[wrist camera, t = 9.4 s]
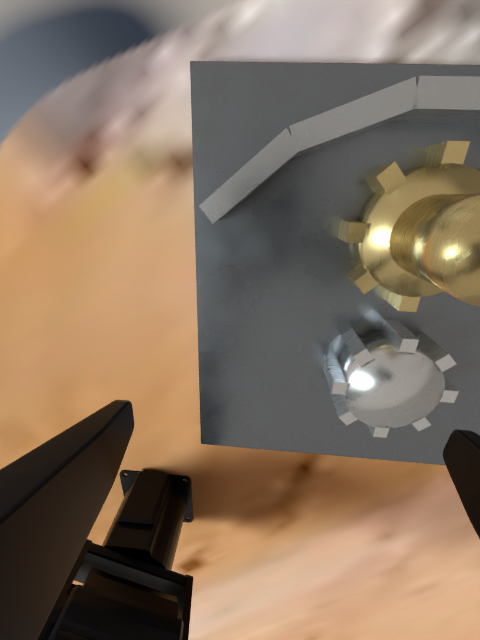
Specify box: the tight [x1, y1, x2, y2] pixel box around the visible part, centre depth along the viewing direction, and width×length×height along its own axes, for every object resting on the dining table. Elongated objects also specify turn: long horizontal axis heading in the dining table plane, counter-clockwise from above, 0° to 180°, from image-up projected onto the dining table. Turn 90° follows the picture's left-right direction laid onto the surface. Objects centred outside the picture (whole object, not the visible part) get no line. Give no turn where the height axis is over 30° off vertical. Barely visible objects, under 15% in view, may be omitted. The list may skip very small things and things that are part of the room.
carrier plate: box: [190, 61, 480, 465], centre depth 16 cm, size 23×23×4 cm
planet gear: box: [338, 141, 480, 312], centre depth 12 cm, size 8×8×6 cm
